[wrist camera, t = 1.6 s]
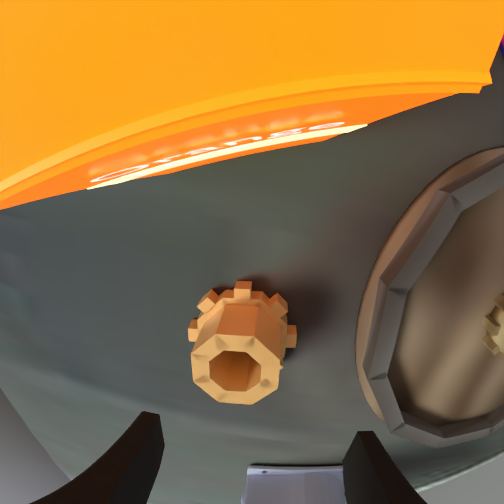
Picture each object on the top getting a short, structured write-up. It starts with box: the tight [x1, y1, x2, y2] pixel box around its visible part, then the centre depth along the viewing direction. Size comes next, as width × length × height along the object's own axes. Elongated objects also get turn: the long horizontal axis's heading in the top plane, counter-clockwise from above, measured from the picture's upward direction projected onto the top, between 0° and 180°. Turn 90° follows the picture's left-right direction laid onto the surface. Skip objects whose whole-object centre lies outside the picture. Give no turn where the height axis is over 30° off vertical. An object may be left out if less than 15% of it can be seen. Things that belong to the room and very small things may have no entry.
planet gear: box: [188, 281, 297, 405], centre depth 18 cm, size 6×6×4 cm
